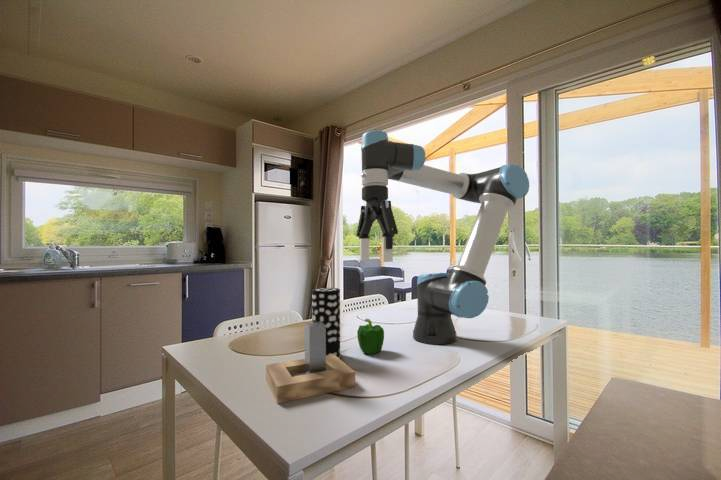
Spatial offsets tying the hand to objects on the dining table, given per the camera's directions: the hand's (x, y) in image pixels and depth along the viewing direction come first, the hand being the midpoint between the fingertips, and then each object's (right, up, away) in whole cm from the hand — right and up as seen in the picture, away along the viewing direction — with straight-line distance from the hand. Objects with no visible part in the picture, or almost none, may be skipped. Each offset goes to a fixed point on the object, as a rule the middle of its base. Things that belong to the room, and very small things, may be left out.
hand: (375, 261), depth 92 cm
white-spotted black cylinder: (-15, -29, +5) cm, 33 cm away
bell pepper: (-1, -29, +9) cm, 30 cm away
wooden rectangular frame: (-17, -29, -14) cm, 36 cm away
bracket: (-17, -28, -14) cm, 36 cm away
